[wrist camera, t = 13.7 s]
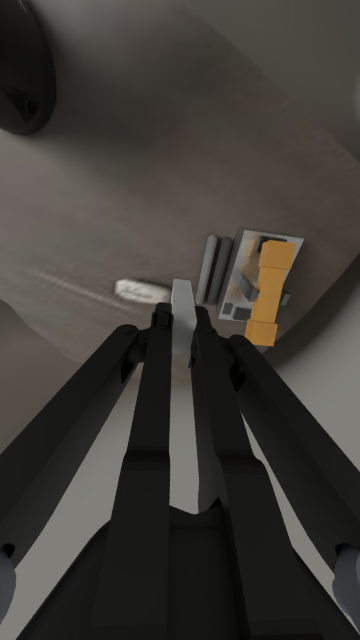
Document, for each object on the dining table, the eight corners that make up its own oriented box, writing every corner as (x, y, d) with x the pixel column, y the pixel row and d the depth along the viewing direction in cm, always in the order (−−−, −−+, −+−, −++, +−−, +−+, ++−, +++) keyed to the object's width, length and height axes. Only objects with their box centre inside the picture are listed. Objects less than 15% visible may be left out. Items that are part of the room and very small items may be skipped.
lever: (262, 243, 35) (270, 239, 32) (286, 246, 35) (296, 243, 32) (244, 339, 38) (249, 344, 36) (266, 342, 39) (273, 346, 36)
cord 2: (221, 235, 39) (223, 237, 37) (231, 236, 39) (233, 238, 37) (206, 302, 48) (207, 306, 46) (213, 303, 48) (214, 307, 46)
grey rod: (207, 233, 39) (209, 235, 37) (217, 234, 39) (219, 236, 37) (194, 301, 47) (195, 304, 46) (202, 301, 47) (203, 305, 46)
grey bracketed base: (238, 227, 38) (258, 236, 29) (293, 235, 39) (329, 246, 30) (215, 310, 49) (224, 336, 40) (258, 315, 50) (277, 341, 41)
